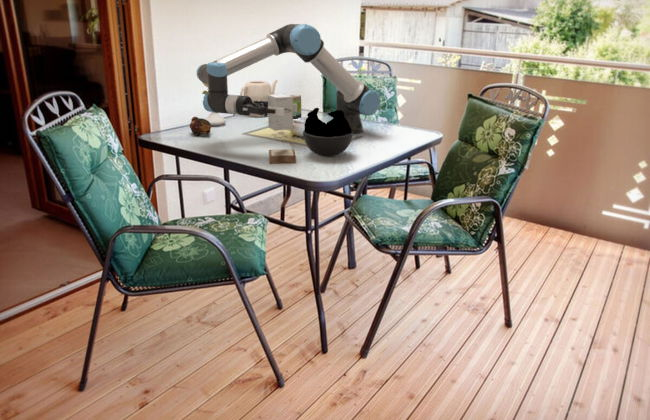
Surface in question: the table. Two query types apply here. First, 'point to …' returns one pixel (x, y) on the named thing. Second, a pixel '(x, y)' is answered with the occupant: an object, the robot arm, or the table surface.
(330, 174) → the table surface
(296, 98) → the tea box
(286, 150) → the walnut base
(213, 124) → the flower in vase
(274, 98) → the supplement box
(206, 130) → the painted clay ocarina
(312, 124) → the bowl of black rocks
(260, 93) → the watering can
